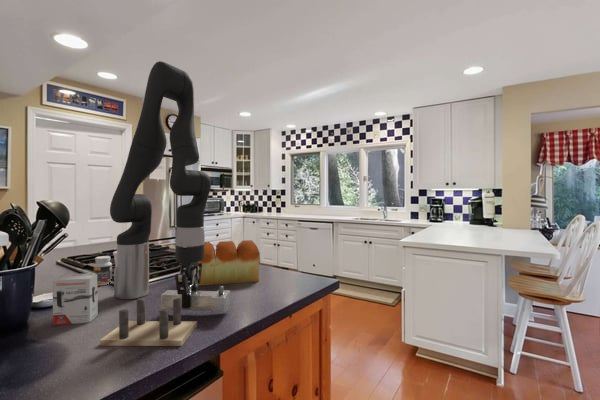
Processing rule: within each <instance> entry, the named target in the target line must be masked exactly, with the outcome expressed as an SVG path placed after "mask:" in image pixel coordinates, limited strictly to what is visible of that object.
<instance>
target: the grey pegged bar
mask: <svg viewBox="0 0 600 400" xmlns="http://www.w3.org/2000/svg"><path fill="white" fill-rule="evenodd" d="M224 288H225V286H224V285H219V286H218V290H216V291H215V290H197V291H191V307H190V308H182V294H180V295H179V294H178V293H177V289H176V290H175V289H167V290H166V291H164V292H163V293H161V294H160V310H164V309H167V310H168V311H173V300H174V299H177V298H180V299H181V311H197V312H198V311H200V312H202V311H203V312H205V311H206V312H210V313H214V314H215V313H221V314H224V313H226V312H227V310H228V309H229V307H230V306H231V290H228V289H226V290H225V289H224Z"/></svg>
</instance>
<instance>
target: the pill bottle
mask: <svg viewBox="0 0 600 400" xmlns="http://www.w3.org/2000/svg"><path fill="white" fill-rule="evenodd" d="M94 262H95V263H94V264H93V273H95V274H97V287H99V286H100V287H101V286H107V284H108V285H110V284H109V282H110V281H111V279H112V280H113V272H112V271H113V263H112V262H111V256H110V255H102V256H101V255H100V256H96V257H95V259H94Z"/></svg>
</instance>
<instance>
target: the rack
mask: <svg viewBox="0 0 600 400" xmlns="http://www.w3.org/2000/svg"><path fill="white" fill-rule="evenodd" d="M158 314H159V315H158V316H159V320H152V321H151V320H146V298H143V297H139V298H136V320H129V309H126V308H125V309H124V308H123V309H120V310H119V311H118V323H119V324H118V327H116V328H115V329H113V330H112V331H110V332H109V333H107V334H106V335H105V336H103V337H102V338H101V339H99V346H109V347H110V346H113V347H114V346H117V347H118V346H119V347H121V346H123V347H124V346H126V347H127V346H128V347H129V346H133V347H135V346H136V347H139V346H140V347H148V346H149V347H153V346H154V347H182V346H183V345H184V343H185V342H186V341H187V340H188V339H189V337H190V336H191V335H192V333H193V332H194V330H195V329H196V328H197V327H198V320H197V321H196V320H195V321H194V320H193V321H191V320H189V321H188V320H186V321H184V320H182V310H181V299H180V298H177V299H174V300H173V310H172V320H169V310H167V309H164V310H161V309H160V310H159V313H158Z"/></svg>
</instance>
